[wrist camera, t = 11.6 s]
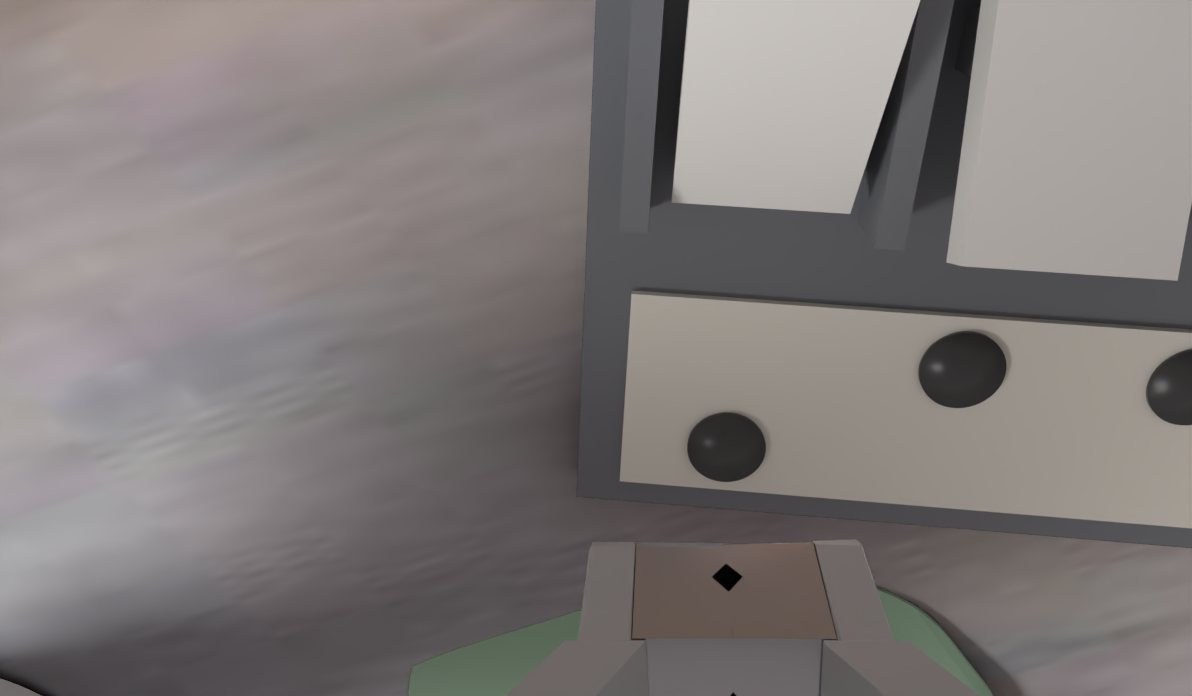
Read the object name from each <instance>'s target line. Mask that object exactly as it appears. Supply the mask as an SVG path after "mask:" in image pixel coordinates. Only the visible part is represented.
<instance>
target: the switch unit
mask: <svg viewBox="0 0 1192 696" xmlns="http://www.w3.org/2000/svg"><path fill="white" fill-rule="evenodd" d="M688 6H689V0H596V11H595V36H594V62H593V88H592V113H591V139H590V165H589V191H588V216H587V242H586V268H585V293H584V319H583V345H582V370H581V396H580V422H579V448H578V473H577V497H587V498H599V499H611V500H623V501H635V502H647V503H659V504H671V505H683V506H694V507H706V508H718V509H730V510H742V511H754V512H766V513H778V514H790V515H802V516H814V517H826V518H838V519H850V520H862V521H874V522H886V523H898V524H910V525H922V526H934V527H946V528H958V529H970V530H981V531H993V532H1005V533H1017V534H1029V535H1041V536H1053V537H1065V538H1077V539H1089V540H1101V541H1113V542H1125V543H1137V544H1149V545H1161V546H1173V547H1185V548H1192V204H1191V209H1190V215H1189V220H1188V226H1187V231H1186V237H1185V242H1184V248H1183V253H1182V259H1181V264H1180V270H1179V275H1178V281H1174V280H1159V279H1144V278H1129V277H1114V276H1099V275H1084V274H1069V273H1054V272H1039V271H1024V270H1009V269H994V268H979V267H964V266H959V265H955V264H951V263H947V262H946V260H947V253H948V245H949V238H950V230H951V223H952V215H953V208H954V200H955V193H956V185H957V178H958V170H959V163H960V155H961V148H962V141H963V133H964V126H965V118H966V111H967V103H968V96H969V88H970V81H971V73H972V66H973V58H974V51H975V43H976V36H977V28H978V21H979V13H980V6H981V0H920V3H919V6H918V9H917V12H916V15H915V18H914V21H913V24H912V27H911V30H910V34H909V37H908V40H907V43H906V46H905V49H904V52H903V55H902V58H901V61H900V64H899V67H898V70H897V73H896V76H895V79H894V82H893V85H892V88H891V91H890V94H889V97H888V100H887V103H886V106H885V109H884V112H883V115H882V119H881V122H880V125H879V128H878V131H877V134H876V137H875V140H874V143H873V146H872V149H871V152H870V155H869V158H868V161H867V164H866V167H865V170H864V173H863V176H862V179H861V182H860V185H859V188H858V191H857V194H856V197H855V200H854V204H853V207H852V210H851V213H850V214H843V213H827V212H811V211H796V210H780V209H764V208H749V207H733V206H717V205H702V204H686V203H672V187H673V172H674V161H675V150H676V138H677V127H678V116H679V105H680V94H681V83H682V72H683V61H684V50H685V39H686V28H687V17H688Z"/></svg>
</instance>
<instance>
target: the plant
mask: <svg viewBox="0 0 1192 696" xmlns="http://www.w3.org/2000/svg"><path fill="white" fill-rule="evenodd" d="M876 588H877V591H878V594H879V597H880V600H881V603H882V606H883V609H884V612H885V615H886V618H887V621H888V624H889V627H890V630H891V633H892V636H893V639H894V641H909V642H910V643H912V644H913V645H914V646H916V647H917V648H918V649H919V650H921V651H922V652H923V653H925V654H926V655H927V656H929V657H930V658H931V659H933V660H934V661H935V662H936V663H938V664H939V665H940V666H942V667H943V668H944V669H946V670H947V671H948V672H950V673H951V674H952V675H953V676H955V677H956V678H957V679H959V680H960V681H961V682H963V683H964V684H965V685H967V686H968V687H969V688H970V689H972V690H973V691H974V692H976V693H977V694H978V695H980V696H993V694H992V692H991V691H990V689H989V687H988V686H987V684H986V683H985V681H984V680H983V679H982V678H981V676H980V675H979V674H978V673H977V671H976V670H975V669H974V667H973V666H972V665H971V664H970V662H969V661H968V660H967V659H966V657H965V656H964V655H963V653H962V652H961V651H960V650H959V648H958V647H957V646H956V645H955V643H954V642H953V641H952V639H951V638H950V637H949V636H948V634H947V633H946V632H945V631H944V630H943V629H942V628H941V627H940V626H939V624H938V623H937V622H936V621H934V620H933V619H932V618H931V617H930V616H929V615H928V614H926V613H925V612H924V611H923V610H921V609H920V608H918V607H917V606H915V605H914V604H912V603H911V602H909V601H907V600H905V599H903V598H901V597H899V596H897V595H895V594H893V593H891V592H889V591H886V590H883V589H881V588H878V587H876ZM580 618H581V610H579V611H576V612H572V613H569V614H566V615H563V616H560V617H556V618H553V619H550V620H547V621H544V622H540V623H537V624H534V625H531V626H528V627H525V628H521V629H518V630H515V631H512V632H509V633H505V634H502V635H499V636H496V637H493V638H490V639H486V640H483V641H480V642H477V643H474V644H470V645H467V646H464V647H461V648H458V649H455V650H452V651H450V652H447V653H445V654H442V655H439V656H437V657H434V658H432V659H429V660H426V661H424V662H421V663H419V664H416V665H414V666H413V667H412V669H411V674H410V680H409V686H408V696H506V695H507V694H508V693H509V692H510V691H512V690H513V689H514V688H515V687H516V686H517V685H518V684H519V683H520V682H521V681H522V680H523V679H524V678H525V677H526V676H527V675H528V674H530V673H531V672H532V671H533V670H534V669H535V668H536V667H537V666H538V665H539V664H540V663H541V662H542V661H543V660H544V659H545V658H547V657H548V656H549V655H550V654H551V653H552V652H553V651H554V650H555V649H556V648H557V647H558V646H559V645H560V644H561V643H562V642H563V641H565V640H578V634H579V626H580Z"/></svg>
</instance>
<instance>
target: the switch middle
mask: <svg viewBox="0 0 1192 696" xmlns="http://www.w3.org/2000/svg"><path fill="white" fill-rule="evenodd" d="M1191 204H1192V0H981V6H980V13H979V21H978V28H977V36H976V43H975V51H974V58H973V66H972V73H971V81H970V88H969V96H968V103H967V111H966V118H965V126H964V133H963V141H962V148H961V155H960V163H959V170H958V178H957V185H956V193H955V200H954V208H953V215H952V223H951V230H950V238H949V245H948V253H947V260H946V262H947V263H951V264H955V265H959V266H964V267H979V268H994V269H1009V270H1024V271H1039V272H1054V273H1069V274H1084V275H1099V276H1114V277H1129V278H1144V279H1159V280H1174V281H1178V275H1179V270H1180V264H1181V259H1182V253H1183V248H1184V242H1185V237H1186V231H1187V226H1188V220H1189V215H1190V209H1191Z"/></svg>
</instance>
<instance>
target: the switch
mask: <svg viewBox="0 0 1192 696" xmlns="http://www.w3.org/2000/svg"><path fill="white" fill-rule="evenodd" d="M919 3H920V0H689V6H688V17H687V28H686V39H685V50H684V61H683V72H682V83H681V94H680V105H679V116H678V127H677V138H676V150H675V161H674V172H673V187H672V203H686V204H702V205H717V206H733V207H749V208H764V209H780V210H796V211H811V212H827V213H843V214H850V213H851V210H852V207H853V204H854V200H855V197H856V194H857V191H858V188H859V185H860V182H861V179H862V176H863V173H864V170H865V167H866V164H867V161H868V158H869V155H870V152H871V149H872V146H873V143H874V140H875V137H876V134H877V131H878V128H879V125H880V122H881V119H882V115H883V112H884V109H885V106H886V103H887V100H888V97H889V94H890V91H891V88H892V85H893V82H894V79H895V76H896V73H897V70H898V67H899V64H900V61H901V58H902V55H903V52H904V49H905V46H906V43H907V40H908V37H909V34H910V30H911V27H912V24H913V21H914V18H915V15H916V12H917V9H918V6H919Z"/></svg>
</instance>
